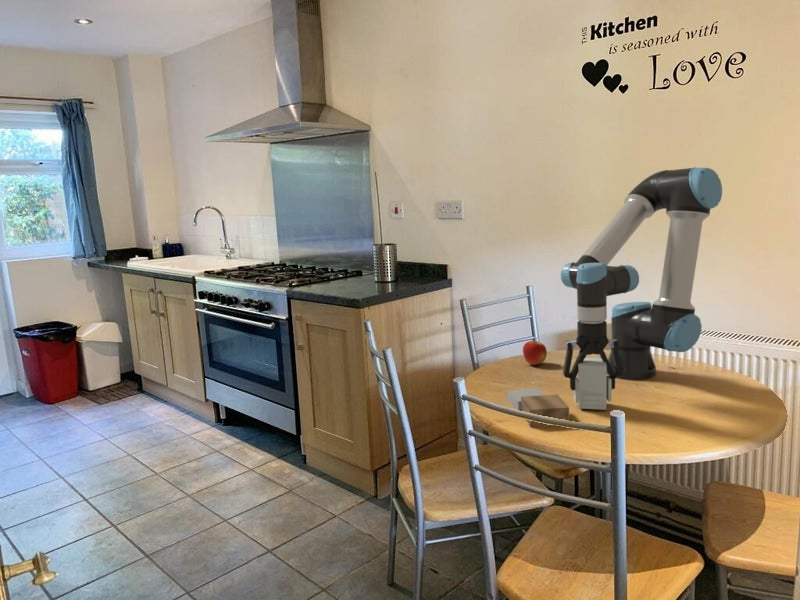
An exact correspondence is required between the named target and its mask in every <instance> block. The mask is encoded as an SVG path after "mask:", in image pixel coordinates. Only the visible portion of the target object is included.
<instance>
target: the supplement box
mask: <svg viewBox="0 0 800 600" xmlns="http://www.w3.org/2000/svg"><path fill="white" fill-rule="evenodd" d="M577 376H578V377H577V379H578V387H579V403H578V408H579V409H581V410H582V409H583V410H584V409H585V410H598V411H599V410H601V411H602V410H603V411H607V401H608V400H607V376H608V374H607V366H606V362H603V361H602V359H601V357H597V358H596V357H586V358H585V359H584V361H583V363H579V364H578V374H577Z"/></svg>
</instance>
